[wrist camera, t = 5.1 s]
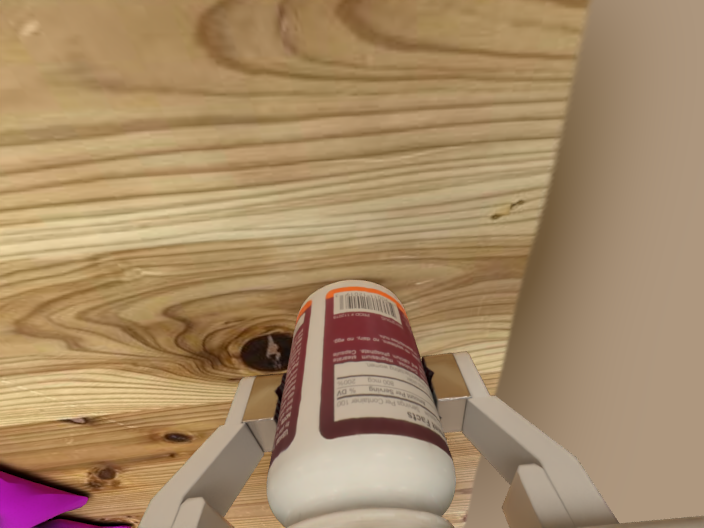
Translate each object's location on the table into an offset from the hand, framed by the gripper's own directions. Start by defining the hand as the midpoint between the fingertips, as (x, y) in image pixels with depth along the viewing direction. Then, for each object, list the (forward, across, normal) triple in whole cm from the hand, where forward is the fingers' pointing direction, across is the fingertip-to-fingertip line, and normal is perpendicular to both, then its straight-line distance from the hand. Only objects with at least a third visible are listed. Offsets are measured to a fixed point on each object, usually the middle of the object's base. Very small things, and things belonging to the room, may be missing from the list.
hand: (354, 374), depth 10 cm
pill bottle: (+3, 0, 0) cm, 3 cm away
